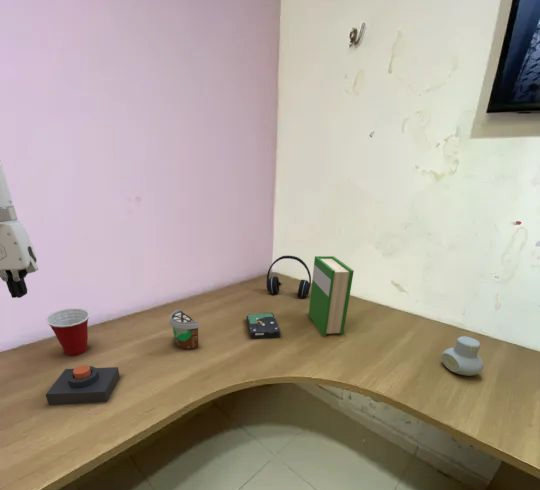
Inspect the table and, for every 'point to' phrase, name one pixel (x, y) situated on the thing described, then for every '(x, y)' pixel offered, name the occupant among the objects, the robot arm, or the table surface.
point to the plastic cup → (70, 329)
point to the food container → (184, 330)
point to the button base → (83, 387)
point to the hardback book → (330, 294)
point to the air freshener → (463, 357)
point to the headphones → (274, 281)
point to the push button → (82, 372)
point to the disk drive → (263, 325)
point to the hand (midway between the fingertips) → (19, 295)
